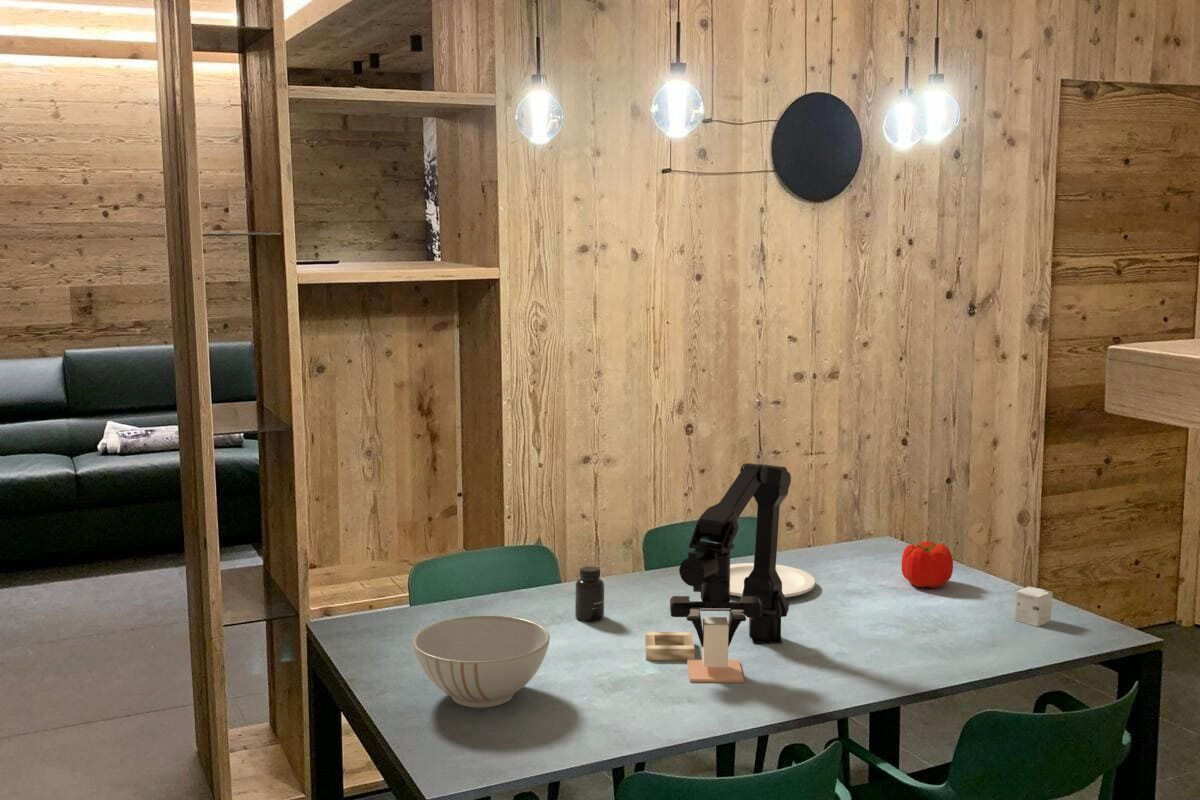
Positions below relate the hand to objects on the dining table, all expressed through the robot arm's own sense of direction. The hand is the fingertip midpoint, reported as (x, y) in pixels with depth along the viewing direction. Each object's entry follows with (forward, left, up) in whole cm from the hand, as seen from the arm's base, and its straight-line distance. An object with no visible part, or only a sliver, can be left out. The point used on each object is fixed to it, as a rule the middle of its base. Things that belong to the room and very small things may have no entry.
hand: (715, 646), depth 248 cm
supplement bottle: (+27, -34, -6) cm, 44 cm away
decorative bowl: (+47, +13, -6) cm, 49 cm away
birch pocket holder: (+9, -12, -6) cm, 16 cm away
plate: (-16, -59, -6) cm, 61 cm away
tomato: (-59, -61, -6) cm, 85 cm away
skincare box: (-77, -33, -6) cm, 84 cm away
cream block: (0, 0, -4) cm, 4 cm away
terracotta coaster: (0, 0, -6) cm, 6 cm away
